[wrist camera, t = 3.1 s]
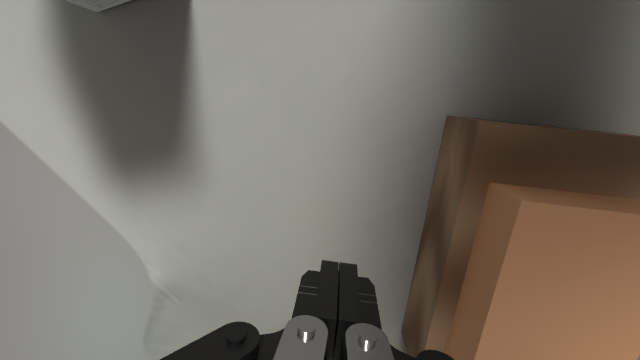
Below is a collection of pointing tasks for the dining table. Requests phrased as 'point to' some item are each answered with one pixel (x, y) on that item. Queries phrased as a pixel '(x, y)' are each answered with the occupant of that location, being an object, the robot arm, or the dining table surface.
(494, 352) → the orange tan block
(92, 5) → the small box
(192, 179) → the dining table surface
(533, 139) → the brown box
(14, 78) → the dining table surface
